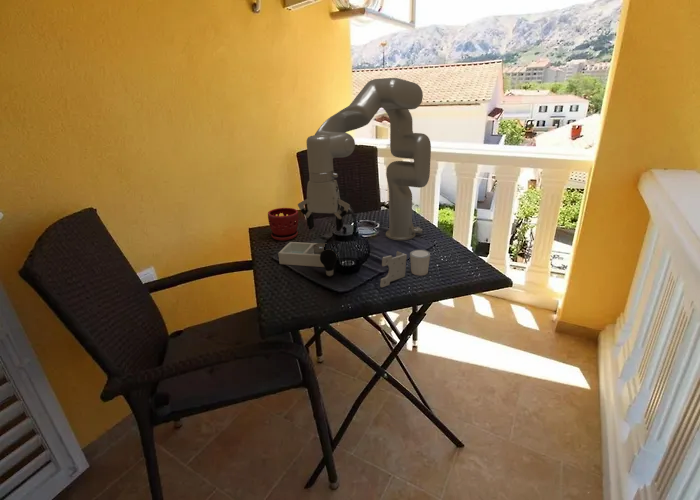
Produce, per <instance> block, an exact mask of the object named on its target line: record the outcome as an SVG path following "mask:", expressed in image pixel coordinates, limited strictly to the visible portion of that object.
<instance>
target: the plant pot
mask: <svg viewBox="0 0 700 500" xmlns="http://www.w3.org/2000/svg"><path fill="white" fill-rule="evenodd" d="M281 214H282V215H281ZM299 218H300V217H299V211H298V209H295V208H293V207H279V208H273V209H271V210H269V211H268V212H267V220H268V224H269V228H270V230H271V234H270V235H271V237H272V239H274V240H277V241H288V240H293V239H295V238H296V237H297V236H298V232H299V231H298V226H299Z"/></svg>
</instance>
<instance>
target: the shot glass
mask: <svg viewBox="0 0 700 500" xmlns="http://www.w3.org/2000/svg"><path fill="white" fill-rule="evenodd" d="M409 258H410V259H409V260H410V270H411V271H410V272H411V274H413V275H415V276H425V275H428V273H429V266H430V259H431V253H430V251H428V250H425V249H414V250H412V251H410V252H409Z"/></svg>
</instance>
